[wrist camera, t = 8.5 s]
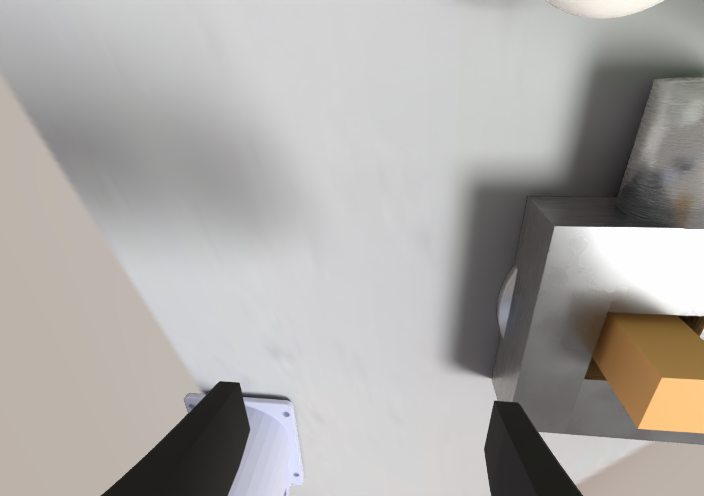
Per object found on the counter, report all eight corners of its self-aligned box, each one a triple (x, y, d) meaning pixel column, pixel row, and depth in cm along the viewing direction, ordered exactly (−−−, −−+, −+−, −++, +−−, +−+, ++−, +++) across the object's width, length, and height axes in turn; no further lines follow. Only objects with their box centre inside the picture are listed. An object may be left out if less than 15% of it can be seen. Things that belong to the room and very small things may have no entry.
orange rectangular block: (648, 288, 18) (747, 382, 13) (631, 332, 20) (715, 434, 14) (588, 286, 19) (661, 377, 13) (575, 330, 20) (637, 429, 15)
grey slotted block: (675, 390, 22) (722, 448, 19) (483, 378, 23) (496, 430, 20) (841, 73, 14) (969, 78, 11) (537, 81, 15) (573, 88, 12)
